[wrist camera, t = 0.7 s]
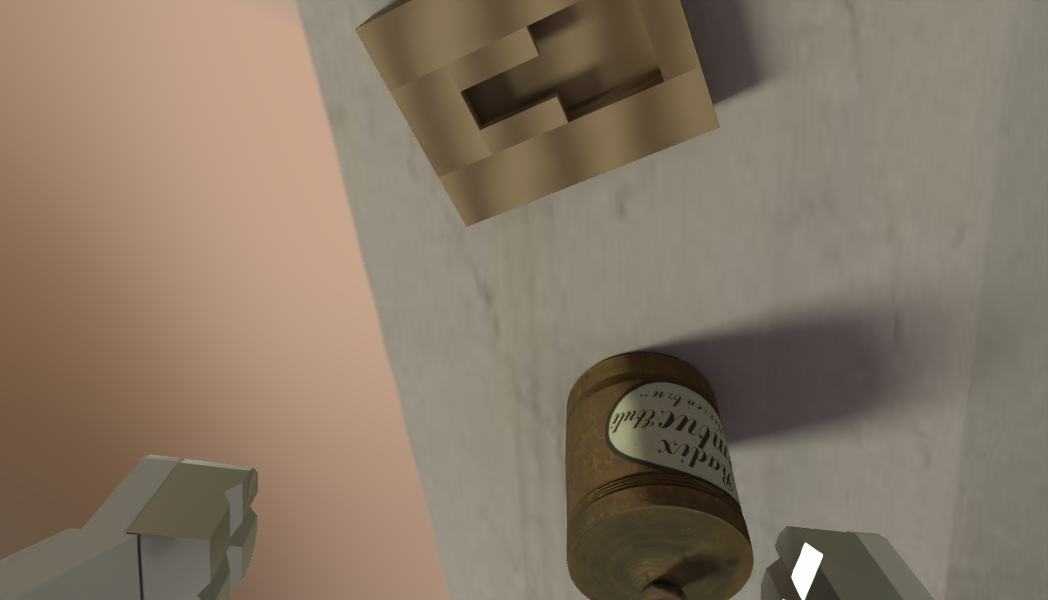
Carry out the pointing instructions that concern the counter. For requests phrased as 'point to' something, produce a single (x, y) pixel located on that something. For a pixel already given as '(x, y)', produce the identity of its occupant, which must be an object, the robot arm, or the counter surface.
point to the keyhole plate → (538, 90)
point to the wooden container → (651, 485)
